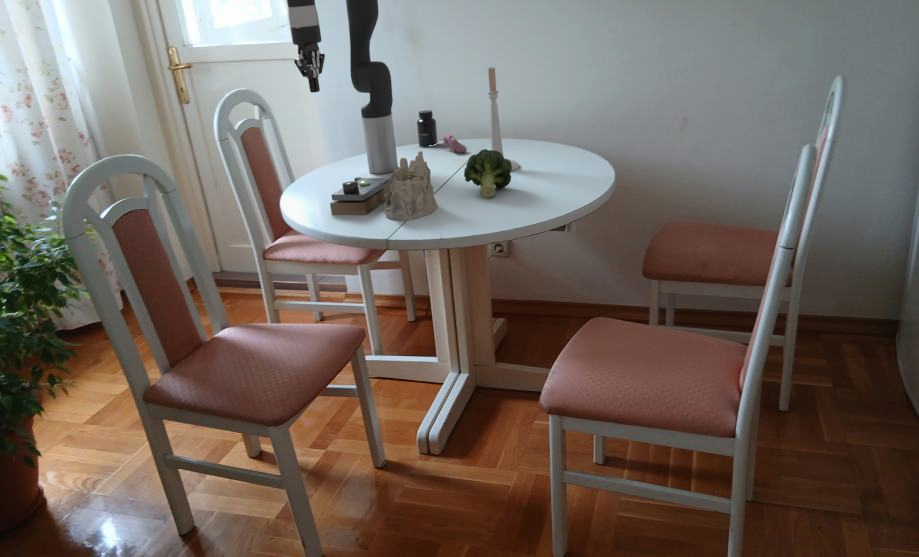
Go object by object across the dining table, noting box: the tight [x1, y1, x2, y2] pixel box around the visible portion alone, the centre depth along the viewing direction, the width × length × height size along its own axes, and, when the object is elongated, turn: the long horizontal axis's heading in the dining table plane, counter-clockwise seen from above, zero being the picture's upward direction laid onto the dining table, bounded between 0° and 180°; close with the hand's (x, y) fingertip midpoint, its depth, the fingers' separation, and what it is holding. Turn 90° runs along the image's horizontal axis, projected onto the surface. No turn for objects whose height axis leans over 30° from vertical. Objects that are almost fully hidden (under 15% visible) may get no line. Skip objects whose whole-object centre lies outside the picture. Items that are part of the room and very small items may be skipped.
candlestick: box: [486, 66, 520, 172], centre depth 219 cm, size 13×13×30 cm
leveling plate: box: [331, 177, 390, 201], centre depth 198 cm, size 18×9×4 cm, turn 162°
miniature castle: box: [382, 150, 438, 222], centre depth 189 cm, size 16×16×15 cm
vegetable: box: [463, 148, 512, 199], centre depth 199 cm, size 12×13×15 cm
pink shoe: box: [442, 134, 468, 153], centre depth 250 cm, size 10×5×7 cm, turn 18°
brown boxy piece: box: [329, 176, 386, 216], centre depth 200 cm, size 20×13×5 cm, turn 162°
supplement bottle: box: [416, 109, 439, 147], centre depth 262 cm, size 7×7×12 cm
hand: (315, 91), depth 200 cm, fingers closed
